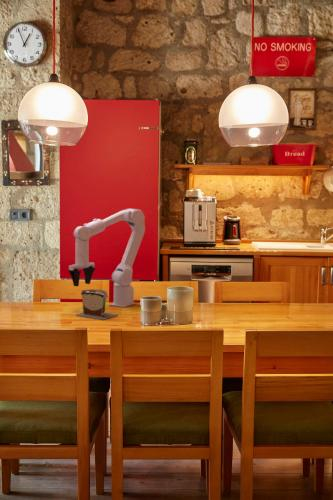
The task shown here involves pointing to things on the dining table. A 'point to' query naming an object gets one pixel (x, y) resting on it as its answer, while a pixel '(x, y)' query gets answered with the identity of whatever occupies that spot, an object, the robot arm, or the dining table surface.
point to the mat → (106, 316)
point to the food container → (94, 302)
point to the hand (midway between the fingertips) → (81, 284)
